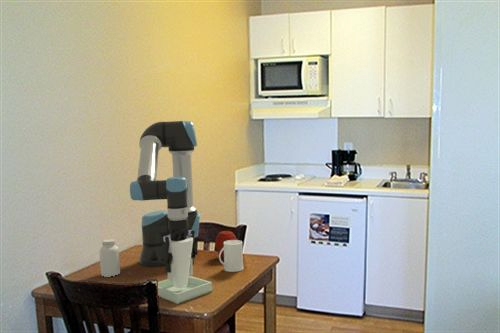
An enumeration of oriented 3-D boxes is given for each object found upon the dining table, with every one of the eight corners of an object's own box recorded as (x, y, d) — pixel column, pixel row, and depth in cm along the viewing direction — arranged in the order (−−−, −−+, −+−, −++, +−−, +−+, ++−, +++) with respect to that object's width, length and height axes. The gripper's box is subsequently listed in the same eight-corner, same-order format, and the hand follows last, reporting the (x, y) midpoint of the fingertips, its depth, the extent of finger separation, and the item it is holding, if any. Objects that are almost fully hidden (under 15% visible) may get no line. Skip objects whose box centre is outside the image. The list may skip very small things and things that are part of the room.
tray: (150, 293, 193) (149, 284, 192) (184, 282, 205) (184, 273, 204) (177, 304, 181) (177, 294, 181) (212, 291, 193) (211, 282, 193)
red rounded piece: (225, 262, 232) (223, 232, 230) (211, 258, 239) (210, 229, 238) (241, 257, 239) (240, 228, 237) (228, 253, 246) (227, 225, 245)
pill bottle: (114, 270, 224) (112, 237, 222) (123, 274, 218) (121, 240, 217) (97, 275, 218) (95, 240, 217) (106, 278, 213) (104, 243, 211)
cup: (169, 281, 198) (167, 236, 196) (196, 280, 198) (194, 235, 196) (164, 290, 188) (161, 243, 186) (192, 290, 187) (190, 242, 185)
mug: (224, 274, 213) (223, 246, 212) (213, 270, 220) (212, 243, 219) (247, 269, 220) (246, 242, 219) (236, 264, 227) (235, 238, 226)
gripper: (160, 224, 180) (163, 286, 182) (206, 215, 195) (208, 272, 197) (148, 222, 185) (151, 282, 187) (193, 212, 200) (195, 268, 203)
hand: (180, 277), depth 192 cm, fingers closed on cup, 8 cm apart
